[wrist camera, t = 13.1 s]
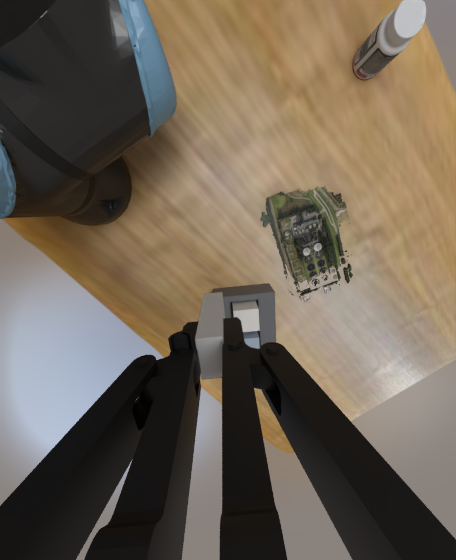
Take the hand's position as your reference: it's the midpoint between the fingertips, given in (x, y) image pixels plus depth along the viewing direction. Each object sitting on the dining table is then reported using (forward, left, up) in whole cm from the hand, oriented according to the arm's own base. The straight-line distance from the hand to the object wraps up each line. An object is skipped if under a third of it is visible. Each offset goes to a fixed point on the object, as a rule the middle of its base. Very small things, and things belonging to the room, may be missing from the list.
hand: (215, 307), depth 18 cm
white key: (+4, -12, -22) cm, 26 cm away
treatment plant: (+19, 0, -27) cm, 33 cm away
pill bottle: (+27, +28, -27) cm, 47 cm away
